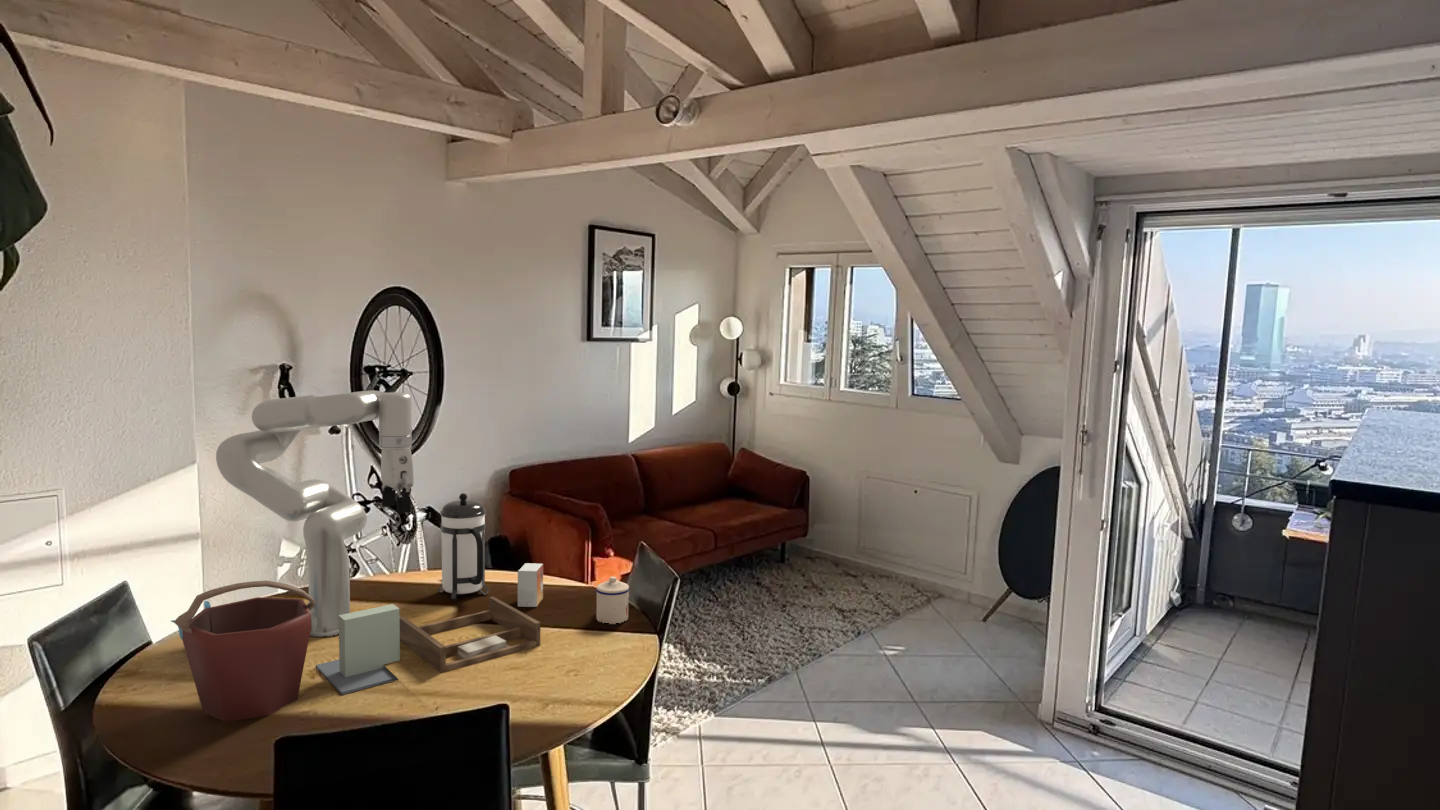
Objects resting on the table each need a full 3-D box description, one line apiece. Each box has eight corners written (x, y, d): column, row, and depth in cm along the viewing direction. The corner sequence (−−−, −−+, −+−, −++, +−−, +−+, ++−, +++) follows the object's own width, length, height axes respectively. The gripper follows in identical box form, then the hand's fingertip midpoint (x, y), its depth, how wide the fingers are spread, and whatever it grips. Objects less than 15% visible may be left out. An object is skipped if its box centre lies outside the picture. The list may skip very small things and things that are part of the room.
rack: (440, 678, 180) (440, 647, 179) (398, 644, 198) (398, 617, 197) (540, 650, 197) (540, 622, 196) (493, 621, 215) (493, 596, 214)
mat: (341, 695, 170) (341, 692, 170) (315, 667, 183) (315, 665, 183) (425, 672, 182) (425, 669, 182) (395, 648, 196) (395, 645, 196)
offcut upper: (468, 661, 186) (468, 652, 186) (457, 654, 189) (457, 646, 189) (506, 648, 193) (506, 640, 193) (495, 643, 197) (495, 635, 196)
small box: (536, 607, 227) (537, 571, 226) (517, 607, 227) (517, 570, 226) (543, 598, 235) (543, 563, 234) (524, 597, 235) (524, 562, 234)
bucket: (169, 736, 152) (164, 607, 149) (192, 687, 172) (188, 574, 170) (314, 714, 162) (311, 593, 159) (320, 671, 182) (318, 563, 179)
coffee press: (425, 600, 230) (424, 497, 227) (452, 583, 246) (452, 487, 243) (481, 605, 227) (481, 501, 224) (505, 588, 243) (505, 490, 240)
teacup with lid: (634, 621, 218) (635, 579, 216) (602, 627, 213) (603, 584, 212) (617, 608, 228) (617, 568, 227) (586, 612, 223) (587, 572, 222)
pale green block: (345, 677, 177) (344, 620, 176) (339, 671, 180) (338, 615, 179) (399, 663, 186) (399, 608, 184) (393, 657, 188) (392, 603, 187)
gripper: (424, 445, 197) (424, 513, 198) (397, 437, 209) (398, 501, 211) (393, 447, 192) (394, 517, 193) (367, 439, 204) (368, 505, 206)
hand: (396, 509), depth 202 cm, fingers open, 9 cm apart
